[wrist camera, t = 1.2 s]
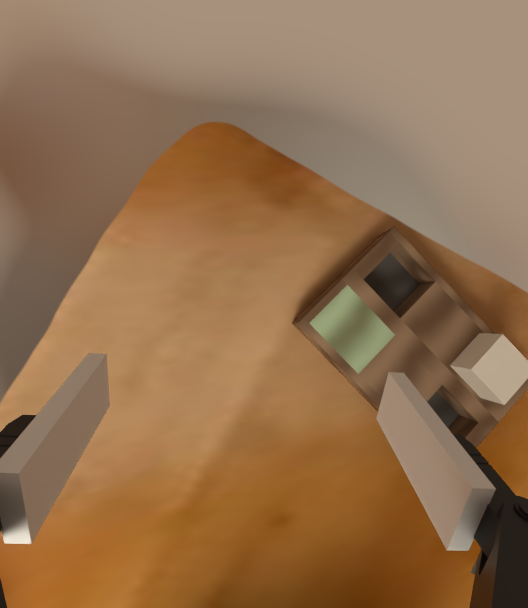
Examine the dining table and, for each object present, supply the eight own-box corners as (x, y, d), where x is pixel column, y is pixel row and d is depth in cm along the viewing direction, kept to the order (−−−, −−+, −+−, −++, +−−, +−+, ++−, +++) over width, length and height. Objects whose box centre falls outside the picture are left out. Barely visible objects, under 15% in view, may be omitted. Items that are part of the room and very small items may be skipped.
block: (509, 365, 47) (535, 369, 43) (480, 397, 46) (504, 405, 42) (479, 333, 47) (502, 334, 43) (449, 365, 46) (471, 369, 42)
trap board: (512, 374, 51) (536, 378, 47) (431, 466, 49) (449, 479, 45) (381, 234, 50) (394, 226, 46) (292, 322, 48) (298, 323, 44)
